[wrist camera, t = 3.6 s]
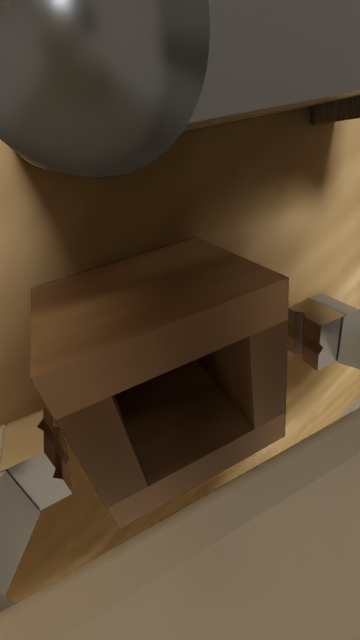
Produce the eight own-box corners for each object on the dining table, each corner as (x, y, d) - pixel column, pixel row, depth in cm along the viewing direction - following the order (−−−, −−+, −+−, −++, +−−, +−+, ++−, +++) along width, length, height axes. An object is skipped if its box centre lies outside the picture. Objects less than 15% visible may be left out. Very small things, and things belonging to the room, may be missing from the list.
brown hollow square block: (91, 413, 13) (119, 529, 9) (30, 288, 10) (30, 377, 5) (213, 359, 14) (285, 436, 10) (195, 237, 11) (289, 277, 7)
